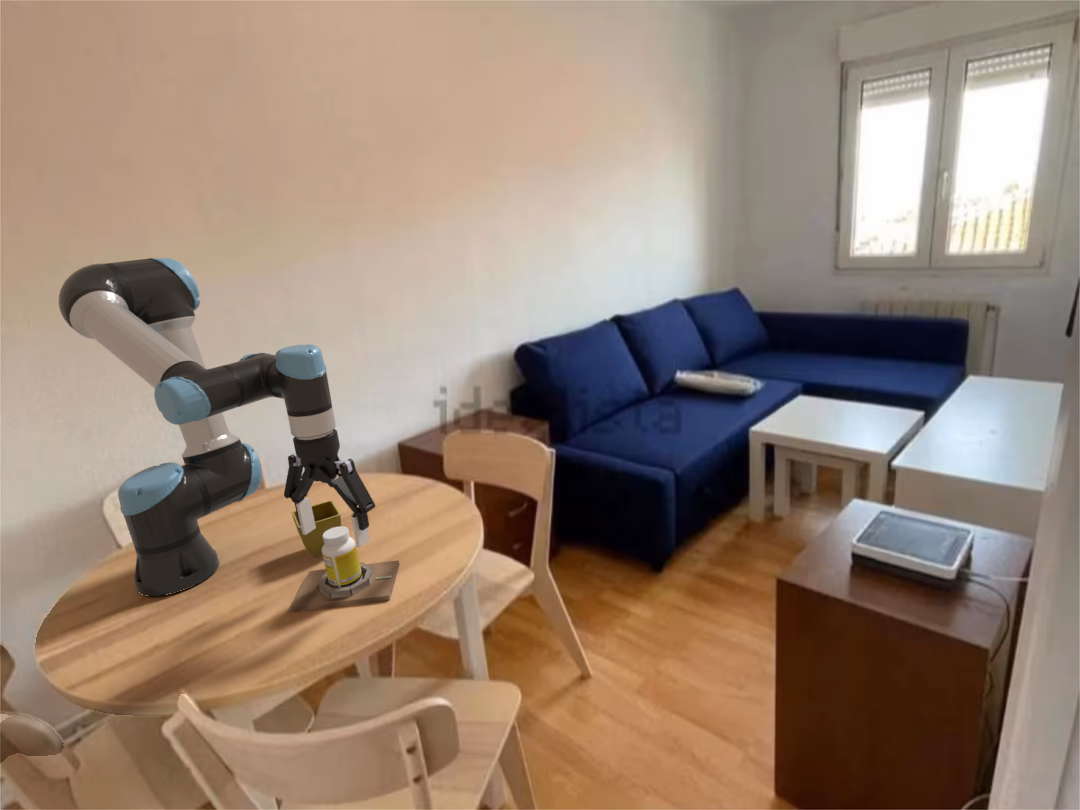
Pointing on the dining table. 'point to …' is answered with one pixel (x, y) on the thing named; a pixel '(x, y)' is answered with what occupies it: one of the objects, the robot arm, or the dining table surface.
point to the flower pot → (319, 526)
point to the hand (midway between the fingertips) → (335, 537)
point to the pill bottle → (341, 558)
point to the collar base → (347, 588)
